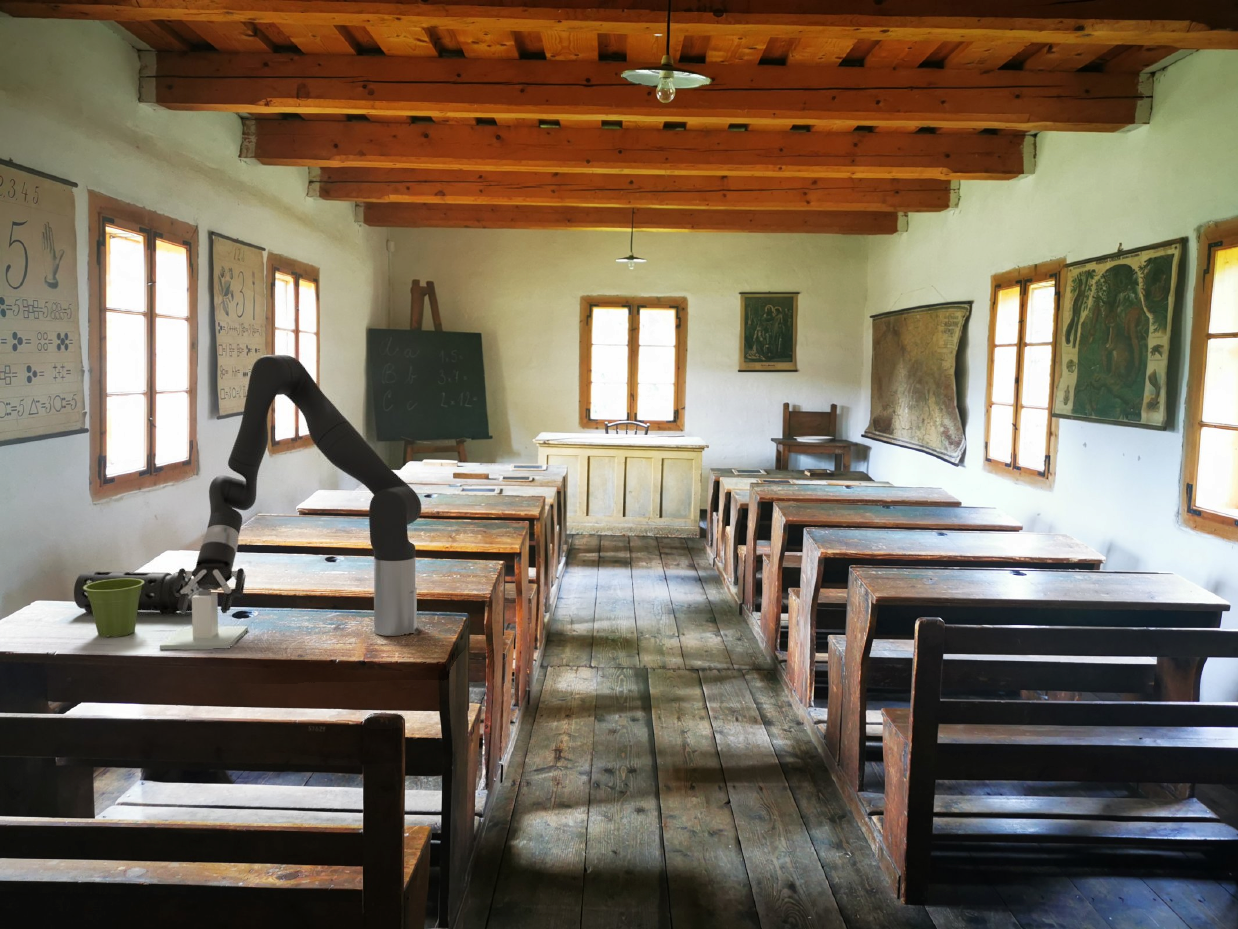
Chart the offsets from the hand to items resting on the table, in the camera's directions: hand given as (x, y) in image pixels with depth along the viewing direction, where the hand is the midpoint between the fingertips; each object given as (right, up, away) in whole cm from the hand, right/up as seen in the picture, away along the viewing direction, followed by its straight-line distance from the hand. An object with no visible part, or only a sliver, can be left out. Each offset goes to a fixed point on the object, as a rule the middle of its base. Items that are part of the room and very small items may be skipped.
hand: (202, 611), depth 196 cm
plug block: (0, -6, +2) cm, 6 cm away
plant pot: (-22, -6, +5) cm, 23 cm away
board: (0, -7, +2) cm, 7 cm away
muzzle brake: (-25, -4, +23) cm, 34 cm away
